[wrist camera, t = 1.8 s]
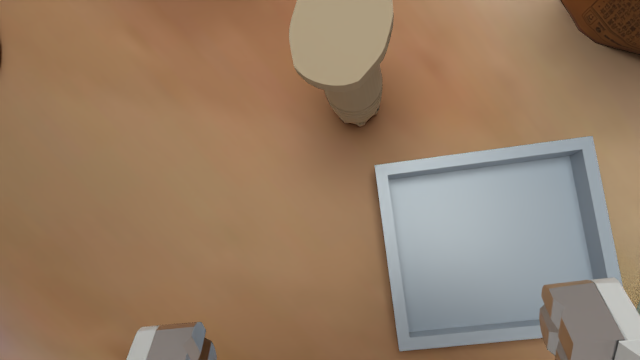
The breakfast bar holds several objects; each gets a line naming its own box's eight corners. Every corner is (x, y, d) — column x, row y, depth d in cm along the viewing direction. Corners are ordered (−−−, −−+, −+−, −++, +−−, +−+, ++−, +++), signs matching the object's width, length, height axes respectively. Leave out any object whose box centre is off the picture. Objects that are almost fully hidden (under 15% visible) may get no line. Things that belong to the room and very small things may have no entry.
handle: (398, 75, 40) (405, -30, 25) (377, 154, 39) (372, 95, 24) (338, 61, 40) (310, -48, 26) (317, 139, 40) (275, 73, 25)
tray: (398, 343, 37) (399, 351, 34) (375, 171, 39) (374, 165, 36) (610, 322, 35) (631, 329, 32) (576, 145, 37) (592, 135, 34)
